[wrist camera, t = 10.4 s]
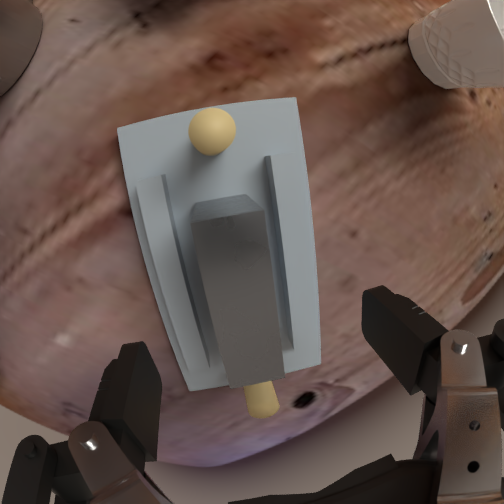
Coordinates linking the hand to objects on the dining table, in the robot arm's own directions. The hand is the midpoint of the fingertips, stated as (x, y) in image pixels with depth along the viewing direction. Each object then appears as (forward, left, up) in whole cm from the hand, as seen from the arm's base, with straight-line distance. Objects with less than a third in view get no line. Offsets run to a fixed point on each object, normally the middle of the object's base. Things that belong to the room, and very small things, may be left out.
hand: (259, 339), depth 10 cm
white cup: (-14, +20, -10) cm, 27 cm away
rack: (+1, 0, -10) cm, 10 cm away
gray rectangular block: (+1, 0, -9) cm, 9 cm away
